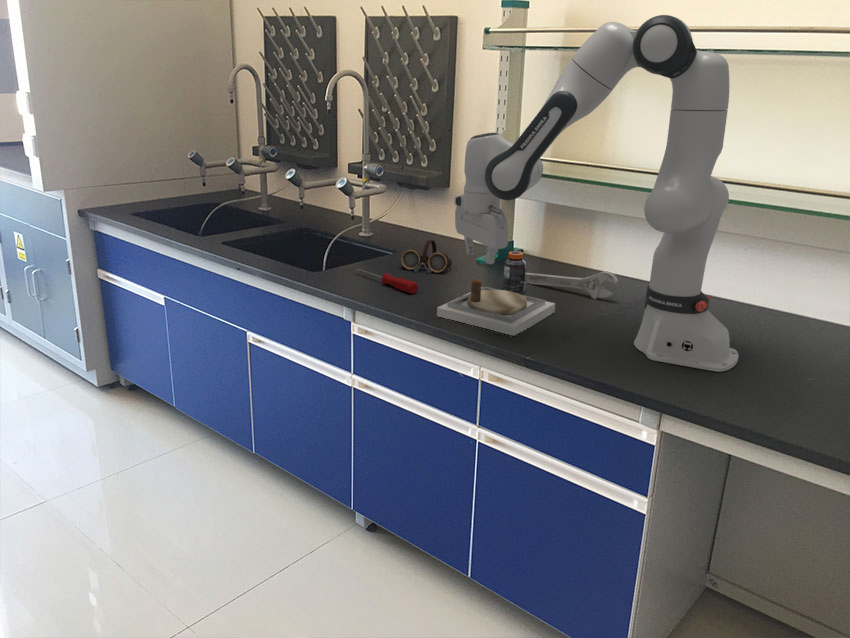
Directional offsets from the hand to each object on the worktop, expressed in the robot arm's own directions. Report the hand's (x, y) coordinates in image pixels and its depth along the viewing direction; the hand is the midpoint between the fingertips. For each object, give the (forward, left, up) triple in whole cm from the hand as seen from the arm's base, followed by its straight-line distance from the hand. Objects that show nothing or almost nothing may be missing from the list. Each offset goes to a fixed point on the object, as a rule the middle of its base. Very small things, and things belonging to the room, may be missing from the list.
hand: (480, 258), depth 176 cm
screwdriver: (+36, -8, -16) cm, 40 cm away
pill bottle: (+3, -25, -16) cm, 30 cm away
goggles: (+36, -30, -16) cm, 49 cm away
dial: (-3, -5, -13) cm, 14 cm away
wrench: (-8, -35, -16) cm, 39 cm away
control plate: (-3, -5, -15) cm, 17 cm away
